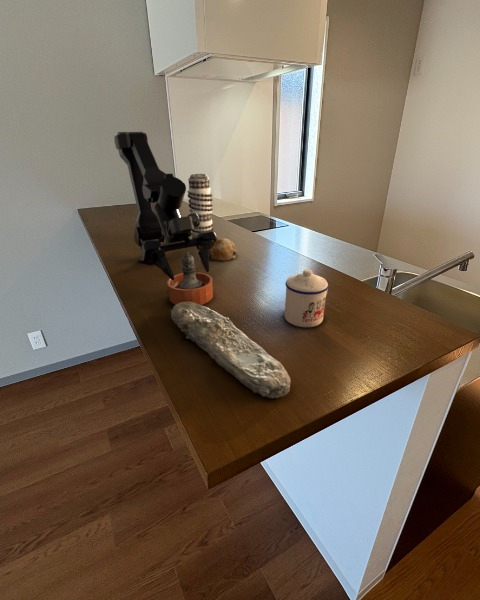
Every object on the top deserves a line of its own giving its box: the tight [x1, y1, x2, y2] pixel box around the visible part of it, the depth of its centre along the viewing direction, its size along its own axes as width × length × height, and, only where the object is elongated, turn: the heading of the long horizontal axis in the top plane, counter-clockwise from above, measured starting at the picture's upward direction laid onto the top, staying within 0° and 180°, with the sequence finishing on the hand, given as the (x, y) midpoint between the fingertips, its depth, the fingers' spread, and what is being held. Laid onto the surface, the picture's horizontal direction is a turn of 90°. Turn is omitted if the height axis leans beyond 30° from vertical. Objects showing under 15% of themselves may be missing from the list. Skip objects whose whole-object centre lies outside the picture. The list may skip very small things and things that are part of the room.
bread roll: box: [209, 237, 237, 262], centre depth 109 cm, size 10×10×8 cm
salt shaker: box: [178, 251, 202, 289], centre depth 79 cm, size 6×6×12 cm
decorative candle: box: [186, 173, 214, 239], centre depth 120 cm, size 9×9×25 cm
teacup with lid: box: [284, 268, 329, 328], centre depth 71 cm, size 12×9×12 cm
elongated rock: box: [170, 302, 292, 399], centre depth 62 cm, size 35×5×10 cm
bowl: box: [166, 271, 214, 306], centre depth 81 cm, size 11×11×5 cm
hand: (191, 275), depth 78 cm, fingers open, 9 cm apart
